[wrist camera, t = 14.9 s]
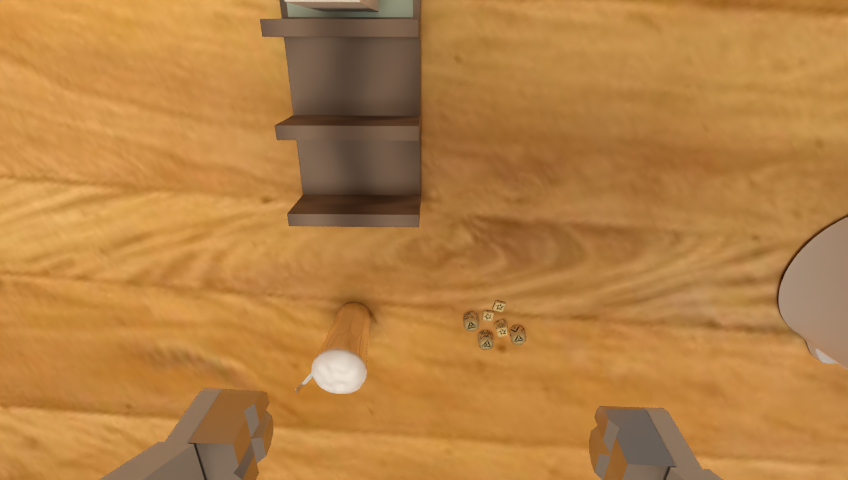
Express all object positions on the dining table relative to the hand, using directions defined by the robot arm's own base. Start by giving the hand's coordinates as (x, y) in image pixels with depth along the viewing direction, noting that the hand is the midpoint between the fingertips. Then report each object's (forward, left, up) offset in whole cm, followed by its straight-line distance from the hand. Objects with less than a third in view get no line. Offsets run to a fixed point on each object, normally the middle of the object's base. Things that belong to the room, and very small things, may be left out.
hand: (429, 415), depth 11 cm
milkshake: (+8, +17, -28) cm, 34 cm away
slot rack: (+6, -6, -28) cm, 29 cm away
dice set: (-6, +18, -29) cm, 34 cm away
